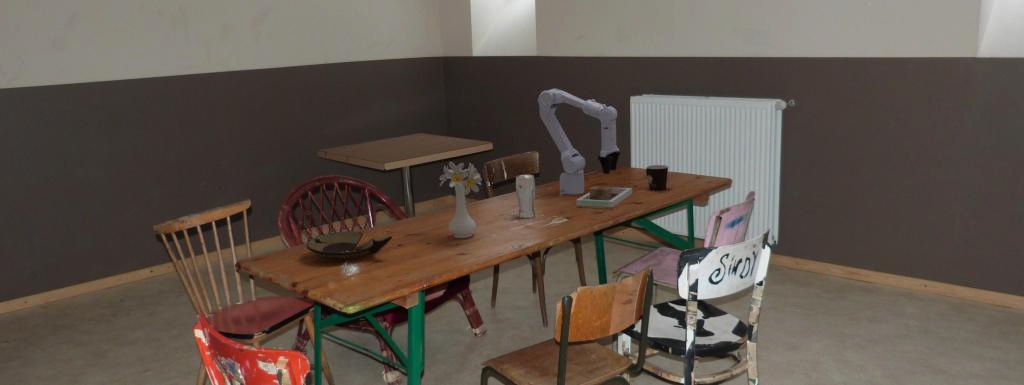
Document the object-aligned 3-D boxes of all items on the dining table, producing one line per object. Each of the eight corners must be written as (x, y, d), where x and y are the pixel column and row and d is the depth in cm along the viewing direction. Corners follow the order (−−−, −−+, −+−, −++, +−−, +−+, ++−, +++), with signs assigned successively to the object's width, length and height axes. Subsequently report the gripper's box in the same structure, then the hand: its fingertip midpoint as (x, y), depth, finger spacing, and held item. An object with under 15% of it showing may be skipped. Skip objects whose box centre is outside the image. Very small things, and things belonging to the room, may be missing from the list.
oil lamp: (351, 242, 288) (349, 220, 287) (405, 256, 267) (403, 233, 265) (293, 257, 273) (290, 234, 272) (345, 274, 252) (342, 249, 250)
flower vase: (466, 244, 276) (461, 169, 271) (433, 235, 290) (428, 163, 285) (497, 236, 285) (493, 163, 279) (464, 228, 299) (459, 158, 293)
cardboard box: (589, 203, 323) (589, 188, 322) (594, 200, 328) (593, 186, 326) (607, 203, 320) (607, 189, 319) (611, 201, 324) (611, 187, 323)
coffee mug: (670, 193, 337) (669, 168, 335) (648, 194, 337) (648, 169, 335) (665, 187, 349) (665, 163, 347) (644, 188, 349) (644, 164, 347)
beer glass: (514, 218, 310) (512, 177, 306) (522, 213, 316) (520, 174, 312) (531, 219, 306) (529, 178, 303) (539, 214, 312) (537, 174, 309)
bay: (576, 207, 321) (576, 199, 320) (598, 194, 342) (598, 186, 342) (612, 209, 314) (612, 201, 314) (632, 195, 336) (632, 188, 335)
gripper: (612, 140, 324) (613, 175, 327) (624, 135, 337) (625, 168, 339) (594, 140, 327) (596, 175, 330) (607, 135, 340) (608, 168, 342)
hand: (609, 172), depth 335 cm, fingers open, 7 cm apart
